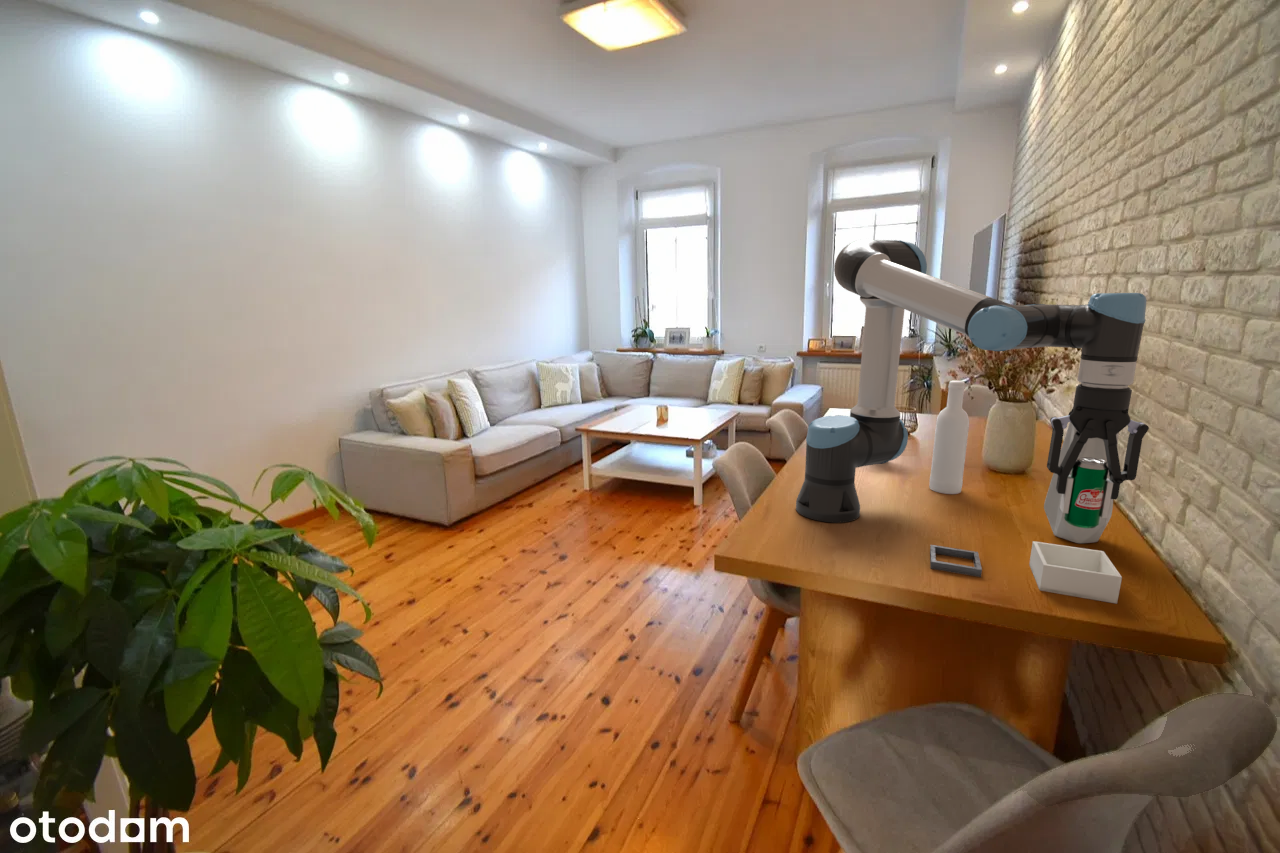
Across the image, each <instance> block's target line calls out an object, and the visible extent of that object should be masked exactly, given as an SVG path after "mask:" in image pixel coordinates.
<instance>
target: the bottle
mask: <svg viewBox="0 0 1280 853" xmlns="http://www.w3.org/2000/svg"><path fill="white" fill-rule="evenodd" d="M947 388H948V390H947V391H948V393H947V400H946V406H945V407H944V408H943V409H942V410H940V412H939V413H938V414H937V417H936V422H935V431H934V432H935V433H934V440H933V447H932V448H933V450H932V459H931V469H930V475H929V485H928V488H929V489H930V490H932V491H933V492H936V493H939V494H945V495H957V494H960V493H961V492H962V489H963V488H962V487H963V483H964V482H963V480H964V478H963V477H964V471H965V464H966V462H965V461H966V454H967V447H968V446H967V445H968V437H969V429H970V418H969V415H968V413H967V411H966V410H965V409H964V408H963V404H964V403H963V402H964V393H965V389H966V382H965V381H963V380H950V381H949V384H948V386H947Z"/></svg>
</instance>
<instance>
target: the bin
mask: <svg viewBox="0 0 1280 853" xmlns="http://www.w3.org/2000/svg"><path fill="white" fill-rule="evenodd" d="M1031 544H1032V545H1031V551H1030V558H1029V564H1028V565H1029V567H1030V570H1031V573H1032V574H1033V578H1034V580H1035V582H1036V585H1037V588H1038V589H1039V591H1042V592H1048V593H1051V594H1052V593H1054V594H1059V595H1064V596H1070V597H1077V598H1082V599H1088V600H1093V601H1099V602H1100V601H1101V602H1105V603H1110V604H1118V600H1119V595H1120V589H1121V585H1122V579H1123V577H1122V575H1121V574H1120V572H1119V571H1118V570H1117V568H1116V567H1115V565H1114V564H1113V562H1112V561H1111V560H1110V558H1109V556H1108V555H1107V554H1106V552H1105V551H1104V550H1098V549H1090V548H1085V547H1076V546H1069V545H1063V544H1055V543H1050V542H1049V543H1047V542H1042V541H1036V540H1035V541H1033V540H1032V543H1031Z"/></svg>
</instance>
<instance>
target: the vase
mask: <svg viewBox="0 0 1280 853" xmlns="http://www.w3.org/2000/svg"><path fill="white" fill-rule="evenodd" d="M1076 431H1077V430H1076V429H1075V427H1074V426H1073V424H1072V423H1071V422H1069V423H1068V425H1067V428H1066V433H1065V436H1064V438H1063V441H1062V446H1061V452H1060V458H1059V464H1058V466H1059V467H1060V465H1061V463H1062V461H1063V459H1064V457H1065V455H1066V453H1067V451H1068V449H1069V447H1070V445H1071V443H1072V441H1073V438H1074V435H1075V433H1076ZM1119 434H1120V432H1119V433H1117V434H1116V438H1117V448H1118V445H1119V444H1118V443H1119ZM1078 457H1089V458H1096V459H1101V460H1104V461H1106V462H1107V458H1106V451H1105V445H1104V441H1103V439H1100V438H1088V440H1087V442H1086V443H1085V444H1084V446H1083V448H1082V450H1081V452H1080V454H1079V456H1078ZM1106 465H1107V467H1108V464H1106ZM1071 471H1072V470H1071ZM1069 475H1071V472H1070V474H1069ZM1057 478H1058V475H1057V474H1055V473H1053V474H1052V476H1051V480H1050V483H1049V486H1048V490H1047V493H1046V497H1045V500H1044V504H1043V509H1044V512H1045V516H1046V517H1047V519H1048V523H1049V525H1050V528H1051V531H1052V532H1053V533H1052V534H1053V536H1055V537H1058V538H1061V539H1063V540H1066V541H1069V542H1073V543H1075V544H1090V543H1097V542H1099V540H1100V538H1101V536H1102V535H1103V532H1104V530H1105V529H1106V528H1107V525H1108V524H1109V522H1110V519H1111V518H1112V514H1113V507H1114V506H1113V505H1114V499H1110V505H1109V511H1108V516H1107V518H1102V517H1101V516H1100V521H1099V525H1098V526H1097V527H1095V528H1080V527H1076V526H1073V525H1070V524H1068V523H1067V522H1066V521H1065V519H1064V515H1065V513H1063V512H1062V511H1061V509H1060V503H1061V497H1062V494H1060V493H1058V492H1057V490H1056V485H1057ZM1107 478H1108V479H1110V476H1109V471H1108V475H1107Z"/></svg>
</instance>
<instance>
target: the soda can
mask: <svg viewBox="0 0 1280 853" xmlns="http://www.w3.org/2000/svg"><path fill="white" fill-rule="evenodd" d="M1106 464H1107V462H1106V461H1104V460H1101V459H1096V458H1089V457H1078V458H1077V460H1076V462H1075V464H1074V466H1073V468H1072V471H1071V477H1072V478H1073V485H1072V491H1071V498H1070V504H1069V510H1068V513H1065V515H1064V519H1065V521H1066V522H1067V523H1068V524H1070V525H1073V526H1076V527H1080V528H1095V527H1097V526H1098V525H1099V521H1100V516H1101V510H1102V504H1103V498H1104V493H1105V487H1106V481H1107V475H1108V470H1109V468H1108V467H1107V465H1106Z"/></svg>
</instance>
